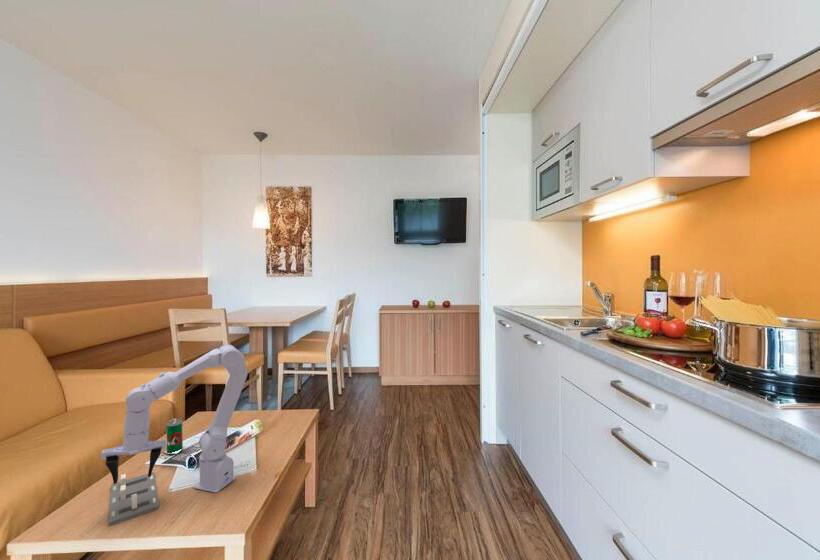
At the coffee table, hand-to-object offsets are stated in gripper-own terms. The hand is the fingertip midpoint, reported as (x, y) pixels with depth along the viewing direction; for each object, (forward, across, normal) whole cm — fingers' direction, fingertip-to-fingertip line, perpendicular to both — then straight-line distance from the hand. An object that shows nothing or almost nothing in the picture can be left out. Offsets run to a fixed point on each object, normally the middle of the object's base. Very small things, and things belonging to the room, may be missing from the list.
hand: (133, 478), depth 100 cm
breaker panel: (+9, 0, +7) cm, 11 cm away
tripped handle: (+8, +1, -1) cm, 8 cm away
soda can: (+8, +10, +32) cm, 35 cm away
